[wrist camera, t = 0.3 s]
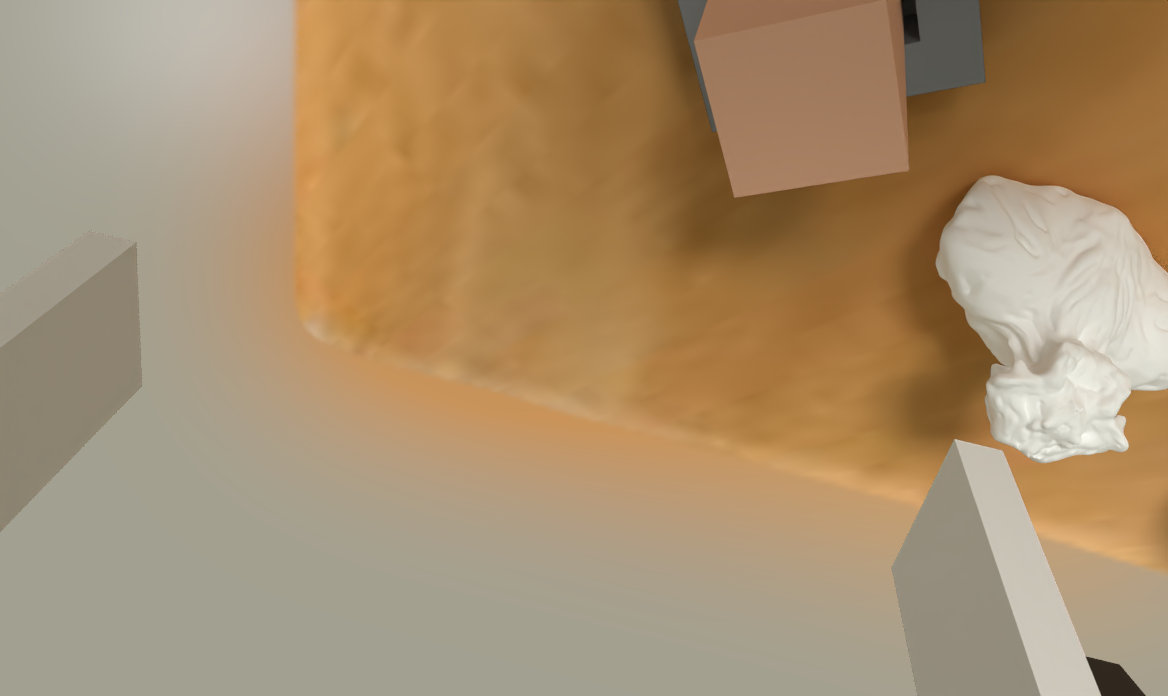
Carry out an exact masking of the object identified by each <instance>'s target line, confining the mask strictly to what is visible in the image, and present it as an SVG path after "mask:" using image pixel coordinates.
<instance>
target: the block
mask: <svg viewBox="0 0 1168 696" xmlns="http://www.w3.org/2000/svg"><path fill="white" fill-rule="evenodd" d="M694 44H695V48H696V52H697V55H698V59H699V63H700V67H701V71H702V75H703V79H704V82H705V86H706V90H707V94H708V98H709V102H710V106H711V109H712V113H713V117H714V121H715V125H716V129H717V133H718V136H719V140H720V144H721V148H722V152H723V156H724V160H725V163H726V167H727V171H728V175H729V179H730V183H731V187H732V190H733V194H734V198H737V197H743V196H750V195H756V194H762V193H769V192H775V191H782V190H788V189H795V188H801V187H807V186H814V185H820V184H827V183H833V182H839V181H846V180H852V179H859V178H865V177H872V176H878V175H884V174H891V173H897V172H904V171H909V149H908V124H907V99H906V74H905V49H904V24H903V2H902V0H707V3H706V6H705V9H704V12H703V15H702V18H701V21H700V24H699V27H698V30H697V33H696V36H695V39H694Z"/></svg>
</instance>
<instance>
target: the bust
mask: <svg viewBox="0 0 1168 696" xmlns="http://www.w3.org/2000/svg"><path fill="white" fill-rule="evenodd" d="M936 268H937V271H938V273H939V276H940V277H941V278H943V279H944V280H946V281H947V282H948V284H949V286H950V288H951V291H952V293H951V294H952V297H953V298H954V299H955V301H956V302H957V303H959V304H960V305H961V306H962V307H963V308H964V310H965V315H966V319H967V322H968V324H969V325H970V327H971V328H973V329H974V330H975V331H976V332H977V333H978V334H979V335H980V337H981V338H982V340H983V341H984V343H985V345H986V346H987V347H988V348H989V349H990V351H991V353H992V354H993V355H994V356H996V358H997V359H998V361H999V362H1000V363H1002V364H1003V365H1005V366H1002V365H999V364H993V365H992V366H991V377H990V378H989V380H988V381H987V383H986V391H987V395H986V397H985V404H986V409H987V416H988V418H989V421H990V423H991V430H990V432H991V435H992V436H993V438H994V439H995V440H996V441H999V442H1001V443H1004V444H1007V445H1009V446H1012V447H1014V448H1016V449H1018V450H1019V451H1021V452H1022V453H1023V454H1024V455H1026V456H1027V457H1028V458H1030V459H1032V460H1033V461H1036V462H1039V463H1049V462H1053V461H1058V460H1060V459H1063V458H1067V457H1070V456H1074V455H1091V454H1094V453H1103V452H1105V451H1107V450H1114V451H1117V452H1124V451H1126V450H1127V449H1128V447H1129V445H1128V442H1127V440H1126V438H1125V436H1124V433H1123V430H1124V426H1125V424H1126V418H1125V417H1124V416H1121V415H1118V416H1116V415H1117V413H1118V411H1119V409H1120V407H1121V405H1122V403H1123V402H1124V401H1125V400H1126V399H1127V398H1128V397H1129V395H1130V394H1131V390H1144V391H1158V390H1164V389H1168V272H1166V271H1165V270H1164V269H1163V268H1162V267H1161V266H1160V265H1159V264H1158V263H1157V262H1156V261H1155V260H1154V259H1153V258H1152V255H1151V252H1150V250H1149V248H1148V247H1147V245H1146V243H1145V242H1144V240H1143V239H1142V237H1141V236H1140V235H1139V234H1138V233H1137V232H1136V231H1135V230H1134V228H1133V227H1132V225H1131V224H1130V221H1129V219H1128V218H1127V217H1126V216H1125V215H1124V214H1123V213H1122V212H1121V211H1120V210H1118V209H1117V208H1115V207H1113V206H1110V205H1107V204H1104V203H1102V202H1099V201H1097V200H1094V199H1091V198H1088V197H1084V196H1080V195H1077V194H1075V193H1074V192H1072V191H1071V190H1069V189H1066V188H1064V187H1060V186H1032V185H1027V184H1024V183H1021V182H1018V181H1014V180H1010V179H1006V178H1003V177H1000V176H997V175H989V176H984V177H982V178H980V179H979V180H977V182H976V183H975V184H974V185H973V186H972V187H971V189H970V190H969V191H968V193H967V194H966V195H965V197H964V199H963V200H962V202H961V203H960V204H959V205H958V207H957V209H956V211H955V214H954V216H953V217H952V219H951V220H950V221H949V222H948V223H947V224H946V225H945V227H944V229H943V232H942V234H941V239H940V250H939V252H938V254H937V258H936ZM1006 366H1007V367H1006Z"/></svg>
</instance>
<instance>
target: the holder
mask: <svg viewBox="0 0 1168 696" xmlns="http://www.w3.org/2000/svg"><path fill="white" fill-rule="evenodd" d="M902 2H903V24H904V49H905V74H906V97H907V96H913V95H918V94H924V93H929V92H935V91H940V90H946V89H951V88H957V87H962V86H968V85H973V84H979V83H984V82H985V69H984V57H983V44H982V32H981V19H980V7H979V0H902ZM706 3H707V0H678V4H679V8H680V11H681V15H682V19H683V23H684V27H685V30H686V34H687V38H688V42H689V46H690V49H691V53H692V57H693V61H694V65H695V68H696V72H697V76H698V80H699V84H700V87H701V91H702V95H703V99H704V103H705V106H706V110H707V114H708V118H709V122H710V126H711V129H712V132H715V131H717V129H716V125H715V121H714V117H713V113H712V109H711V106H710V102H709V98H708V94H707V90H706V86H705V82H704V79H703V75H702V71H701V67H700V63H699V59H698V55H697V52H696V48H695V44H694V39H695V36H696V33H697V30H698V27H699V24H700V21H701V18H702V15H703V12H704V9H705V6H706Z"/></svg>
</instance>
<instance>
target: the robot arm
mask: <svg viewBox="0 0 1168 696" xmlns="http://www.w3.org/2000/svg"><path fill="white" fill-rule="evenodd" d="M139 325H140V323H139V298H138V274H137V248H136V242H134V241H130V240H125V239H121V238H117V237H113V236H109V235H104V234H101V233H96V232H92V231H88V232H87V233H85V234H84V235H82V236H81V237H79V238H78V239H76V240H75V241H74V242H72V243H71V244H70V245H68V246H67V247H65V248H64V249H62V250H61V251H59V252H58V253H57V254H55V255H54V256H52V257H51V258H50V259H48V260H47V261H45V262H44V263H42V264H41V265H39V266H38V267H37V268H35V269H34V270H32V271H31V272H30V273H28V274H27V275H25V276H24V277H22V278H21V279H20V280H18V281H17V282H15V283H14V284H12V285H11V286H10V287H8V288H7V289H5V290H4V291H3V292H1V293H0V532H1V531H2V530H3V529H4V527H5V526H6V525H7V524H8V523H9V522H10V521H11V520H12V519H13V518H14V517H15V516H16V515H17V514H18V513H19V512H20V511H21V510H22V509H23V508H24V507H25V506H26V505H27V504H28V503H29V502H30V501H31V500H32V498H34V497H35V496H36V495H37V494H38V492H39V491H40V490H41V489H42V488H43V487H44V486H45V485H46V484H47V483H48V482H49V481H50V480H51V479H52V478H53V477H54V476H55V475H56V474H57V473H58V472H59V471H60V470H61V469H62V468H63V467H64V466H65V465H66V464H67V463H68V462H69V461H70V460H71V459H72V458H73V456H74V455H75V454H76V453H77V452H78V451H79V450H80V449H81V448H82V447H83V446H84V445H85V444H86V443H87V442H88V441H89V440H90V439H91V438H92V437H93V436H94V435H95V434H96V433H97V432H98V431H99V430H100V429H101V428H102V426H104V425H105V424H106V422H107V421H108V420H109V419H110V418H111V417H112V416H113V415H114V414H115V413H116V412H117V411H118V410H119V409H120V408H121V407H122V406H123V405H124V404H125V403H126V402H127V401H128V400H129V399H130V398H131V397H132V396H133V395H134V394H135V393H136V392H137V391H138V390H139V389H140V388H141V387H142V374H141V348H140V326H139ZM892 572H893V577H894V582H895V587H896V592H897V597H898V602H899V607H900V612H901V617H902V622H903V627H904V632H905V637H906V642H907V646H908V652H909V657H910V662H911V667H912V672H913V676H914V682H915V687H916V691H917V696H1145V694H1144V693H1143V692H1142V691H1141V690H1140V688H1139V687H1138V686H1137V685H1136V684H1135V683H1134V681H1133V680H1132V679H1131V678H1130V677H1129V675H1128V674H1127V673H1126V672H1125V671H1124V669H1123V668H1122V667H1121V666H1120V665H1119V664H1114V663H1110V662H1106V661H1102V660H1098V659H1094V658H1090V657H1086V656H1085V654H1084V652H1083V649H1082V647H1081V644H1080V642H1079V639H1078V637H1077V634H1076V632H1075V629H1074V627H1073V624H1072V622H1071V619H1070V617H1069V614H1068V612H1067V609H1066V607H1065V604H1064V602H1063V600H1062V597H1061V594H1060V592H1059V589H1058V587H1057V585H1056V582H1055V580H1054V577H1053V574H1052V572H1051V569H1050V567H1049V565H1048V562H1047V559H1046V557H1045V555H1044V552H1043V550H1042V547H1041V545H1040V542H1039V540H1038V537H1037V535H1036V532H1035V530H1034V527H1033V525H1032V522H1031V520H1030V517H1029V515H1028V512H1027V510H1026V507H1025V505H1024V502H1023V500H1022V497H1021V495H1020V492H1019V490H1018V487H1017V485H1016V482H1015V480H1014V477H1013V475H1012V472H1011V470H1010V467H1009V465H1008V462H1007V460H1006V457H1005V455H1004V452H1003V451H1002V450H998V449H994V448H990V447H985V446H981V445H977V444H973V443H969V442H965V441H960V440H956V439H954V441H953V443H952V445H951V447H950V449H949V451H948V453H947V455H946V458H945V460H944V462H943V464H942V466H941V468H940V470H939V472H938V474H937V476H936V478H935V480H934V482H933V484H932V486H931V488H930V490H929V492H928V494H927V496H926V498H925V500H924V502H923V504H922V507H921V509H920V511H919V513H918V515H917V517H916V519H915V521H914V523H913V525H912V527H911V529H910V531H909V533H908V535H907V537H906V539H905V542H904V543H903V545H902V547H901V549H900V552H899V553H898V556H897V558H896V560H895V562H894V564H893V566H892Z"/></svg>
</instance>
